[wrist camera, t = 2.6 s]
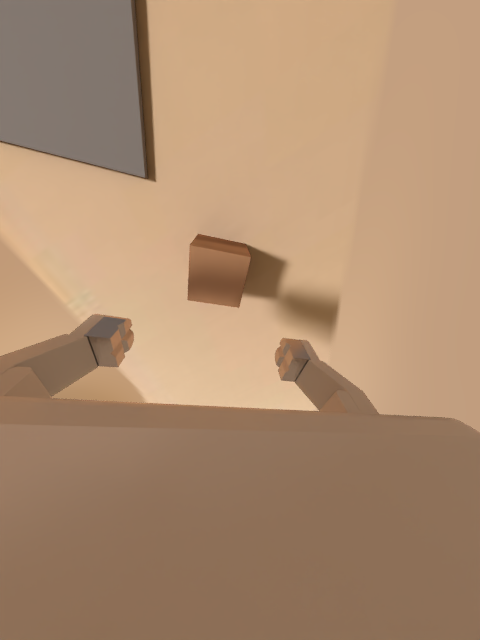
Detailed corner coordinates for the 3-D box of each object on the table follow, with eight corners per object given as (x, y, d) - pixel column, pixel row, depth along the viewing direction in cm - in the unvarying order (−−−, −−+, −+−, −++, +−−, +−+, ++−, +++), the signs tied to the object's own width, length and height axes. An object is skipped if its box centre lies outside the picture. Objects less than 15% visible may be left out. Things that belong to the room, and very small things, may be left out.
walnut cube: (198, 233, 18) (189, 245, 14) (245, 243, 18) (251, 257, 14) (195, 279, 20) (187, 300, 16) (236, 286, 21) (239, 307, 17)
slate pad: (-253, -352, 6) (-296, -401, 5) (123, -146, 8) (117, -168, 8) (-26, 133, 13) (-36, 131, 12) (147, 178, 15) (145, 177, 14)
